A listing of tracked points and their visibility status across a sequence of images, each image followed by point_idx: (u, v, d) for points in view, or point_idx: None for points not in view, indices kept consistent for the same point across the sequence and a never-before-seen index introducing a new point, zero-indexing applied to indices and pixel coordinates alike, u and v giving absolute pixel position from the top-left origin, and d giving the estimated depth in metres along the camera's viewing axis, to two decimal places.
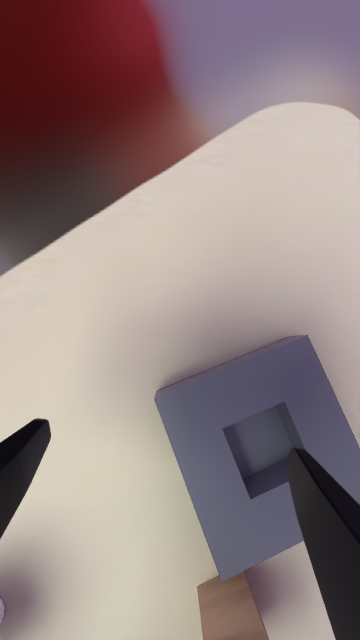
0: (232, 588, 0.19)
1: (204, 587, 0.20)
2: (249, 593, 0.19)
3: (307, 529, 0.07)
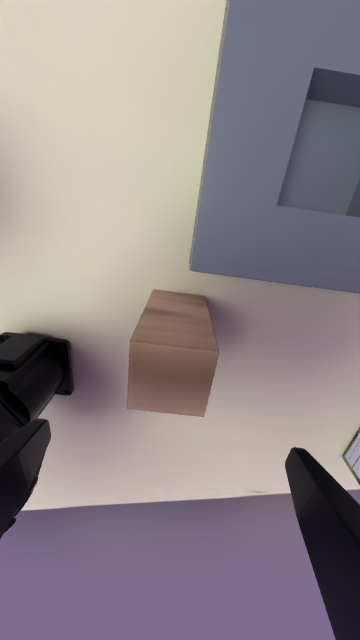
0: (189, 299, 0.18)
1: (160, 291, 0.19)
2: (205, 306, 0.17)
3: (307, 529, 0.07)
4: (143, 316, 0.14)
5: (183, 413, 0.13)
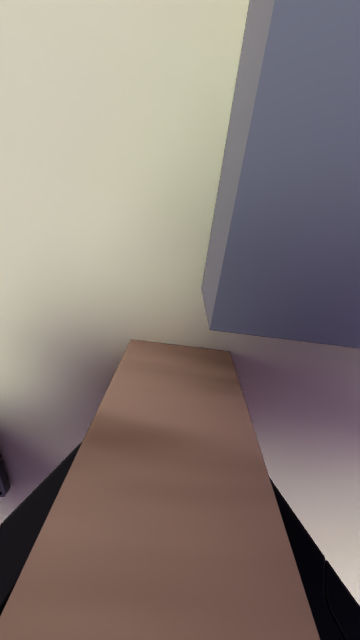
0: (201, 368, 0.09)
1: (143, 345, 0.10)
2: (238, 389, 0.08)
3: None
4: (73, 476, 0.05)
5: None
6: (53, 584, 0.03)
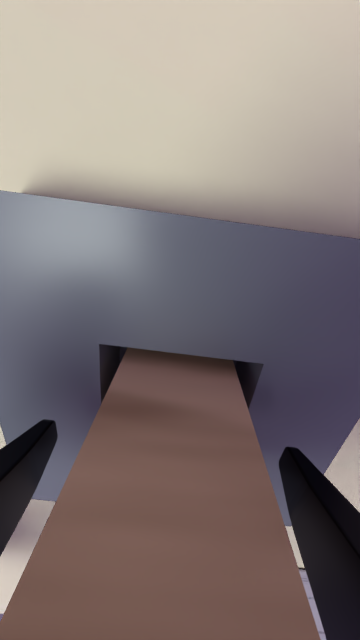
0: None
1: None
2: (234, 373, 0.09)
3: (299, 528, 0.07)
4: (91, 437, 0.06)
5: None
6: (81, 510, 0.04)
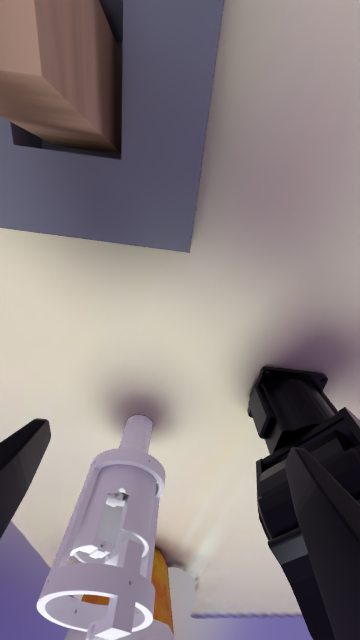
0: None
1: None
2: None
3: (307, 529, 0.07)
4: None
5: None
6: None
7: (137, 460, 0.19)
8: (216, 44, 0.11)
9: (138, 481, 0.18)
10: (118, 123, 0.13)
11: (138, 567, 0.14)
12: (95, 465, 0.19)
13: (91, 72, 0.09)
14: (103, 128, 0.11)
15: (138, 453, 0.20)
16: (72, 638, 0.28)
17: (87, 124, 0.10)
